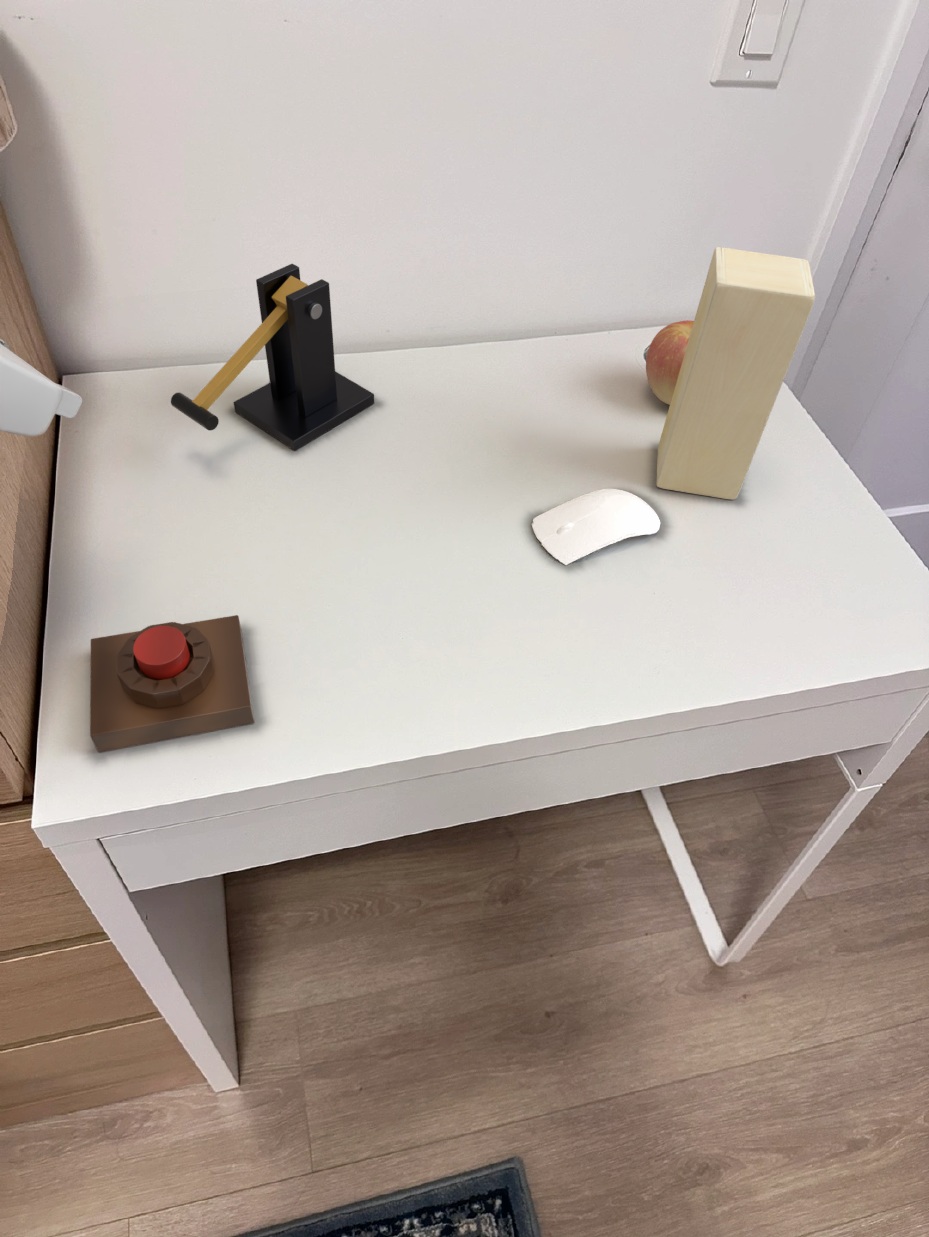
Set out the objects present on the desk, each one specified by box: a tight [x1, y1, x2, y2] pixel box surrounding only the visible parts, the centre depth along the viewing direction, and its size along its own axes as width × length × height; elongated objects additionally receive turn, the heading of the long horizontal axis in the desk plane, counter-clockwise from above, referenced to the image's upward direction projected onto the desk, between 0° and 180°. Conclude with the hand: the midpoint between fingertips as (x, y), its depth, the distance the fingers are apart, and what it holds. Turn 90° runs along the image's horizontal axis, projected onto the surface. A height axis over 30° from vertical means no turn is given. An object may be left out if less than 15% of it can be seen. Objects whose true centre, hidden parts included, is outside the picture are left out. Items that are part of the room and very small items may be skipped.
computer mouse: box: [531, 488, 661, 566], centre depth 79 cm, size 7×12×2 cm, turn 115°
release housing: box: [89, 614, 255, 753], centre depth 65 cm, size 11×9×4 cm
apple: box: [645, 320, 694, 406], centre depth 92 cm, size 9×9×8 cm
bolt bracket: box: [233, 263, 375, 452], centre depth 85 cm, size 11×9×14 cm
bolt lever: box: [170, 276, 309, 432], centre depth 80 cm, size 16×5×2 cm, turn 140°
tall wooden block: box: [656, 246, 816, 500], centre depth 78 cm, size 8×7×21 cm
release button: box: [133, 626, 190, 680], centre depth 63 cm, size 4×4×2 cm
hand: (37, 377), depth 65 cm, fingers open, 8 cm apart
